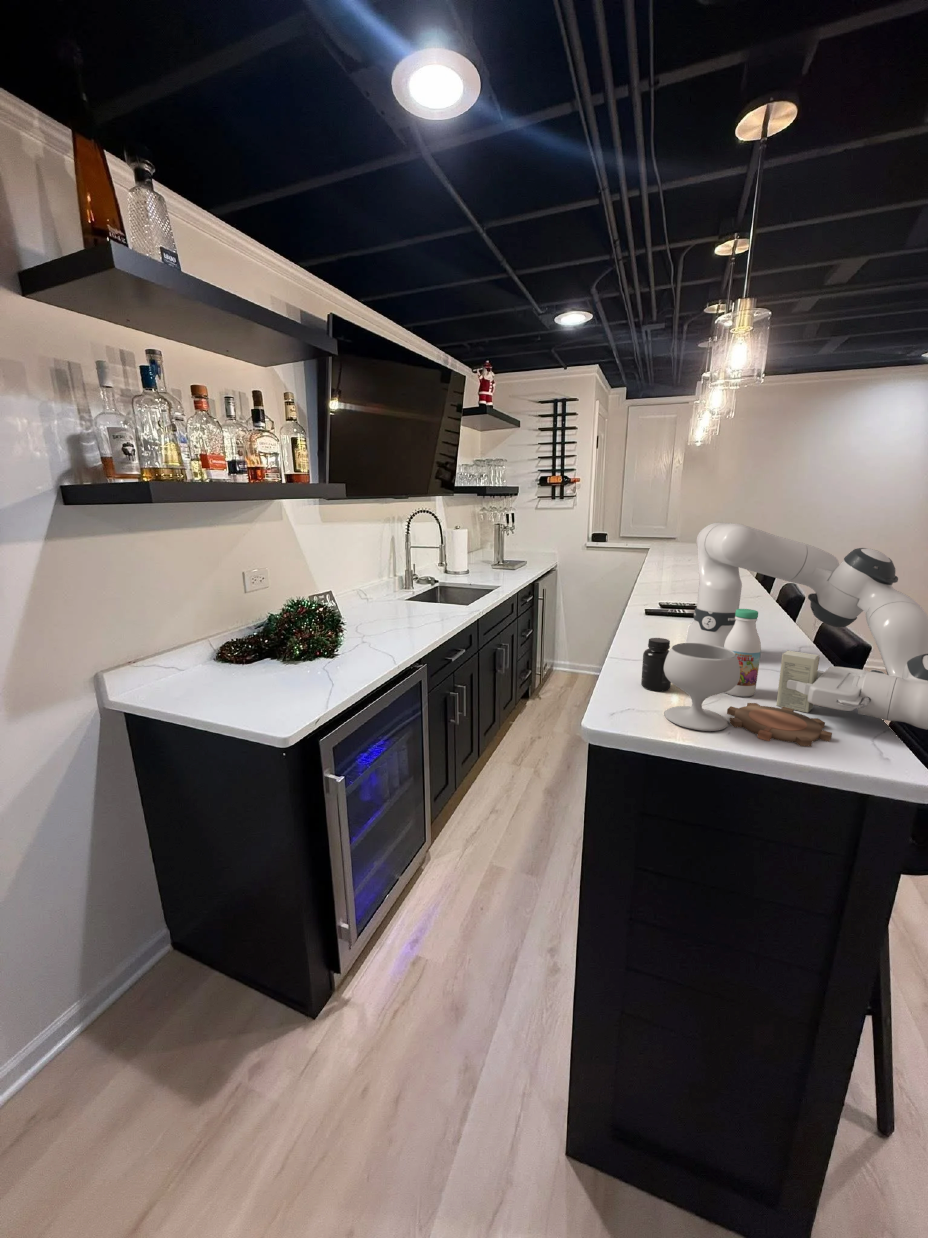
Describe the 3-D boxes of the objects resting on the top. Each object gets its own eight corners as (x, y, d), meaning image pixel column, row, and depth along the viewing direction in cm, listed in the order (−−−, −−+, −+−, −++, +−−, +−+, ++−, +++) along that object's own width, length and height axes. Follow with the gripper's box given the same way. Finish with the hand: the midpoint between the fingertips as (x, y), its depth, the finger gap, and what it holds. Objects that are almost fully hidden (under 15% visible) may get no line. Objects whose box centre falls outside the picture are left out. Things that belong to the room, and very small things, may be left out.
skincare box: (813, 708, 109) (822, 655, 107) (808, 714, 106) (817, 659, 104) (779, 700, 114) (787, 649, 111) (774, 705, 111) (782, 652, 108)
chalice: (657, 727, 100) (664, 655, 96) (660, 702, 112) (667, 638, 109) (735, 740, 94) (746, 664, 91) (730, 713, 106) (739, 645, 103)
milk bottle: (716, 684, 124) (726, 606, 120) (751, 688, 121) (762, 608, 117) (720, 695, 117) (731, 612, 112) (758, 699, 114) (770, 614, 110)
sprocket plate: (741, 701, 113) (742, 695, 113) (839, 726, 100) (840, 719, 100) (713, 725, 100) (714, 718, 100) (820, 756, 88) (821, 749, 88)
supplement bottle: (665, 683, 125) (670, 636, 122) (674, 692, 118) (679, 644, 116) (637, 681, 126) (641, 635, 123) (644, 691, 119) (648, 643, 116)
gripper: (862, 724, 93) (778, 704, 103) (877, 696, 107) (802, 680, 117) (868, 692, 92) (782, 675, 101) (882, 668, 106) (806, 655, 116)
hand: (793, 678), depth 109 cm, fingers open, 8 cm apart
